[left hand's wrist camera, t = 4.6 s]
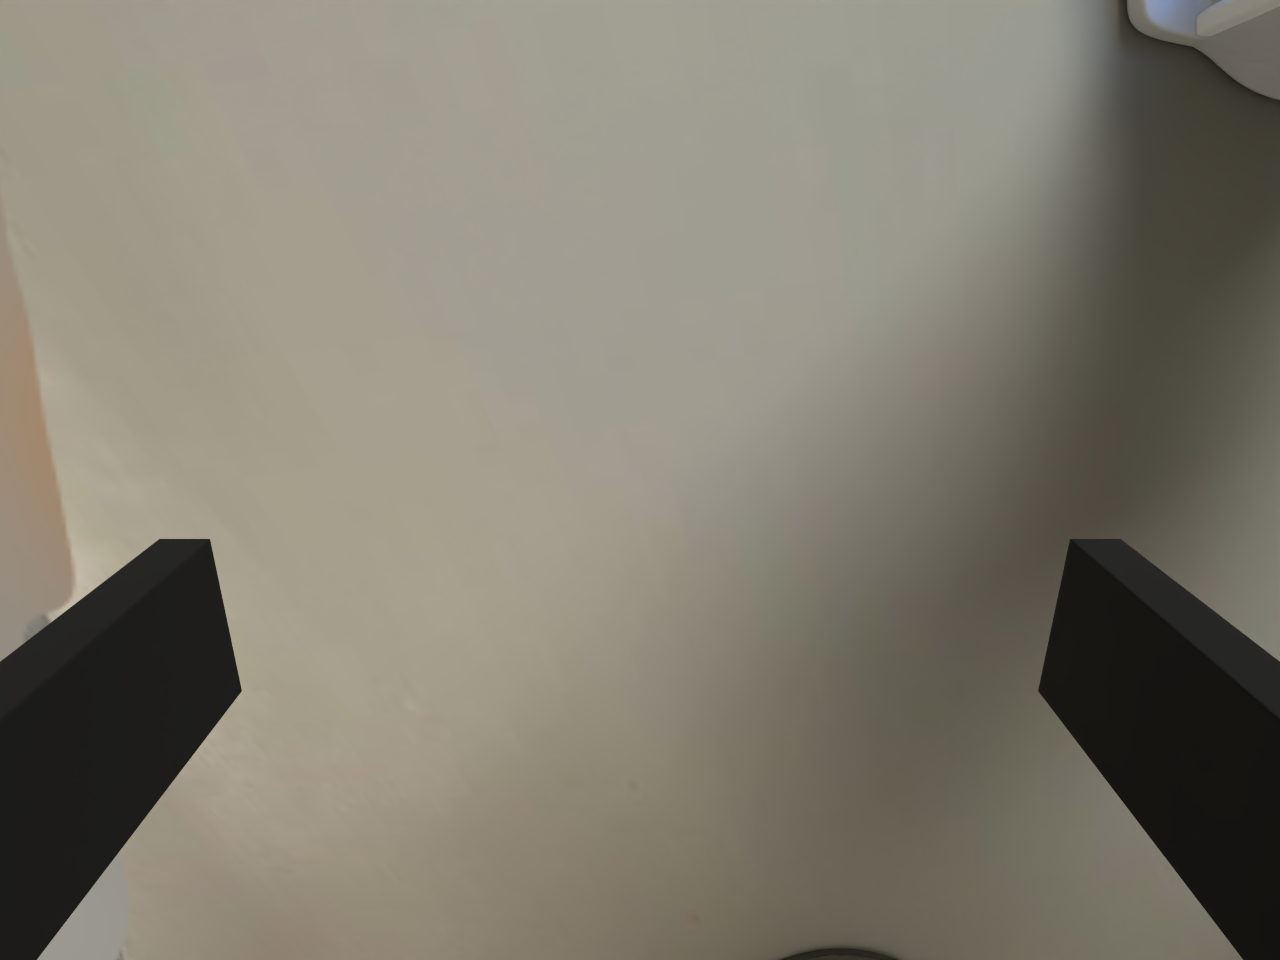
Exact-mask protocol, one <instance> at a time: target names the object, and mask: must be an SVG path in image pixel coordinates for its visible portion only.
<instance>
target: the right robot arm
mask: <svg viewBox="0 0 1280 960" xmlns="http://www.w3.org/2000/svg"><path fill="white" fill-rule="evenodd" d="M1127 11H1128V16H1129V19H1130V21H1131V23H1132V25H1133V26H1134V27H1135V28H1136V29H1137V30H1138V31H1140V32H1141V33H1143V34H1145V35H1147V36H1150V37H1152V38H1156V39H1159V40H1163V41H1167V42H1171V43H1176V44H1181V45H1186V46H1192V47H1194V48H1196V49H1197V50H1199V51H1201V52H1202V53H1203V54H1205V55H1206V56H1207V57H1209V58H1210V59H1211V60H1212V61H1213V62H1214V63H1216V64H1217V65H1218V66H1219V67H1220V68H1221V69H1222V70H1223V71H1225V72H1226V73H1227V74H1228V75H1229V76H1230V77H1232V78H1233V79H1234V80H1236V81H1237V82H1238V83H1240V84H1242V85H1243V86H1245V87H1247V88H1248V89H1251V90H1253V91H1255V92H1257V93H1259V94H1261V95H1264V96H1267V97H1269V98H1273V99H1277V100H1280V0H1127Z"/></svg>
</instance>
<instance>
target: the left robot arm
mask: <svg viewBox="0 0 1280 960" xmlns="http://www.w3.org/2000/svg"><path fill="white" fill-rule="evenodd" d="M241 691H242V690H241V685H240V680H239V675H238V671H237V666H236V661H235V656H234V652H233V647H232V642H231V637H230V633H229V628H228V623H227V618H226V614H225V609H224V604H223V599H222V595H221V590H220V585H219V580H218V576H217V571H216V566H215V561H214V557H213V552H212V547H211V542H210V539H159V540H158V541H156V542H155V543H154V544H153V545H151V546H150V547H149V548H147V549H146V550H145V551H144V552H142V553H141V554H140V555H138V556H137V557H136V558H134V559H133V560H132V561H131V562H129V563H128V564H127V565H125V566H124V567H123V568H121V569H120V570H119V571H118V572H116V573H115V574H114V575H112V576H111V577H110V578H108V579H107V580H106V581H105V582H103V583H102V584H101V585H99V586H98V587H97V588H95V589H94V590H93V591H92V592H90V593H89V594H88V595H86V596H85V597H84V598H82V599H81V600H80V601H79V602H77V603H76V604H75V605H73V606H72V607H71V608H70V609H68V610H67V611H66V612H64V613H63V614H62V615H60V616H59V617H58V618H57V619H55V620H54V621H53V622H51V623H50V624H49V625H47V626H46V627H45V628H44V629H42V630H41V631H40V632H38V633H37V634H36V635H34V636H33V637H32V638H31V639H29V640H28V641H27V642H25V643H24V644H23V645H21V646H20V647H19V648H18V649H16V650H15V651H14V652H12V653H11V654H10V655H8V656H7V657H6V658H5V659H3V660H2V661H1V662H0V960H37V958H38V957H39V956H40V955H41V953H42V952H43V951H44V949H45V948H46V947H47V945H48V944H49V943H50V941H51V940H52V939H53V938H54V936H55V935H56V934H57V932H58V931H59V930H60V928H61V927H62V926H63V924H64V923H65V922H66V920H67V919H68V918H69V917H70V915H71V914H72V913H73V911H74V910H75V909H76V907H77V906H78V905H79V903H80V902H81V901H82V900H83V898H84V897H85V896H86V894H87V893H88V892H89V890H90V889H91V888H92V886H93V885H94V884H95V882H96V881H97V880H98V879H99V877H100V876H101V875H102V873H103V872H104V871H105V869H106V868H107V867H108V865H109V864H110V863H111V862H112V860H113V859H114V858H115V856H116V855H117V854H118V852H119V851H120V850H121V848H122V847H123V846H124V844H125V843H126V842H127V841H128V839H129V838H130V837H131V835H132V834H133V833H134V831H135V830H136V829H137V827H138V826H139V825H140V824H141V822H142V821H143V820H144V818H145V817H146V816H147V814H148V813H149V812H150V810H151V809H152V808H153V806H154V805H155V804H156V803H157V801H158V800H159V799H160V797H161V796H162V795H163V793H164V792H165V791H166V789H167V788H168V787H169V786H170V784H171V783H172V782H173V780H174V779H175V778H176V776H177V775H178V774H179V772H180V771H181V770H182V769H183V767H184V766H185V765H186V763H187V762H188V761H189V759H190V758H191V757H192V755H193V754H194V753H195V751H196V750H197V749H198V748H199V746H200V745H201V744H202V742H203V741H204V740H205V738H206V737H207V736H208V734H209V733H210V732H211V731H212V729H213V728H214V727H215V725H216V724H217V723H218V721H219V720H220V719H221V717H222V716H223V715H224V713H225V712H226V711H227V710H228V708H229V707H230V706H231V704H232V703H233V702H234V700H235V699H236V698H237V696H238V695H239V694H240V693H241ZM1038 691H1039V693H1040V694H1041V695H1042V696H1043V698H1044V699H1045V700H1046V702H1047V703H1048V704H1049V706H1050V707H1051V708H1052V710H1053V711H1054V712H1055V713H1056V715H1057V716H1058V717H1059V719H1060V720H1061V721H1062V723H1063V724H1064V725H1065V727H1066V728H1067V729H1068V731H1069V732H1070V733H1071V734H1072V736H1073V737H1074V738H1075V740H1076V741H1077V742H1078V744H1079V745H1080V746H1081V748H1082V749H1083V750H1084V751H1085V753H1086V754H1087V755H1088V757H1089V758H1090V759H1091V761H1092V762H1093V763H1094V765H1095V766H1096V767H1097V769H1098V770H1099V771H1100V772H1101V774H1102V775H1103V776H1104V778H1105V779H1106V780H1107V782H1108V783H1109V784H1110V786H1111V787H1112V788H1113V789H1114V791H1115V792H1116V793H1117V795H1118V796H1119V797H1120V799H1121V800H1122V801H1123V803H1124V804H1125V805H1126V806H1127V808H1128V809H1129V810H1130V812H1131V813H1132V814H1133V816H1134V817H1135V818H1136V820H1137V821H1138V822H1139V824H1140V825H1141V826H1142V827H1143V829H1144V830H1145V831H1146V833H1147V834H1148V835H1149V837H1150V838H1151V839H1152V841H1153V842H1154V843H1155V844H1156V846H1157V847H1158V848H1159V850H1160V851H1161V852H1162V854H1163V855H1164V856H1165V858H1166V859H1167V860H1168V862H1169V863H1170V864H1171V865H1172V867H1173V868H1174V869H1175V871H1176V872H1177V873H1178V875H1179V876H1180V877H1181V879H1182V880H1183V881H1184V882H1185V884H1186V885H1187V886H1188V888H1189V889H1190V890H1191V892H1192V893H1193V894H1194V896H1195V897H1196V898H1197V900H1198V901H1199V902H1200V903H1201V905H1202V906H1203V907H1204V909H1205V910H1206V911H1207V913H1208V914H1209V915H1210V917H1211V918H1212V919H1213V920H1214V922H1215V923H1216V924H1217V926H1218V927H1219V928H1220V930H1221V931H1222V932H1223V934H1224V935H1225V936H1226V938H1227V939H1228V940H1229V941H1230V943H1231V944H1232V945H1233V947H1234V948H1235V949H1236V951H1237V952H1238V953H1239V955H1240V956H1241V957H1242V958H1243V960H1280V662H1279V661H1278V660H1277V659H1275V658H1274V657H1273V656H1272V655H1270V654H1269V653H1268V652H1266V651H1265V650H1264V649H1262V648H1261V647H1260V646H1259V645H1257V644H1256V643H1255V642H1253V641H1252V640H1251V639H1249V638H1248V637H1247V636H1246V635H1244V634H1243V633H1242V632H1240V631H1239V630H1238V629H1236V628H1235V627H1234V626H1233V625H1231V624H1230V623H1229V622H1227V621H1226V620H1225V619H1223V618H1222V617H1221V616H1220V615H1218V614H1217V613H1216V612H1214V611H1213V610H1212V609H1210V608H1209V607H1208V606H1207V605H1205V604H1204V603H1203V602H1201V601H1200V600H1199V599H1198V598H1196V597H1195V596H1194V595H1192V594H1191V593H1190V592H1188V591H1187V590H1186V589H1185V588H1183V587H1182V586H1181V585H1179V584H1178V583H1177V582H1175V581H1174V580H1173V579H1172V578H1170V577H1169V576H1168V575H1166V574H1165V573H1164V572H1162V571H1161V570H1160V569H1159V568H1157V567H1156V566H1155V565H1153V564H1152V563H1151V562H1149V561H1148V560H1147V559H1146V558H1144V557H1143V556H1142V555H1140V554H1139V553H1138V552H1136V551H1135V550H1134V549H1133V548H1131V547H1130V546H1129V545H1127V544H1126V543H1125V542H1124V541H1122V540H1121V539H1070V542H1069V547H1068V552H1067V557H1066V561H1065V566H1064V571H1063V576H1062V580H1061V585H1060V590H1059V595H1058V599H1057V604H1056V609H1055V614H1054V618H1053V623H1052V628H1051V633H1050V637H1049V642H1048V647H1047V652H1046V656H1045V661H1044V666H1043V671H1042V675H1041V680H1040V685H1039V690H1038ZM785 960H896V959H894V958H891V957H888V956H885V955H882V954H878V953H874V952H869V951H863V950H853V949H830V950H821V951H815V952H809V953H805V954H801V955H797V956H794V957H791V958H788V959H785Z"/></svg>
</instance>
